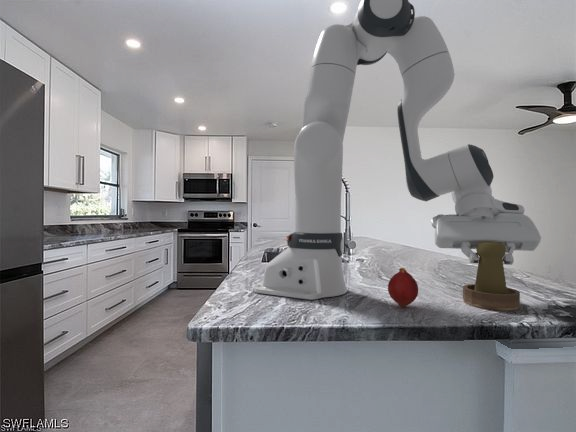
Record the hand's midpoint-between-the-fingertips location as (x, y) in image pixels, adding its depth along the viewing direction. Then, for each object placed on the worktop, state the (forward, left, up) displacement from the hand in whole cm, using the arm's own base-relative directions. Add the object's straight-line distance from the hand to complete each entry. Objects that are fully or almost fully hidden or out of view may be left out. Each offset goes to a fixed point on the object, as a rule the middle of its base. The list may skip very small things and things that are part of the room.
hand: (491, 262), depth 68 cm
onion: (-18, -7, -9) cm, 21 cm away
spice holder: (0, +1, -9) cm, 9 cm away
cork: (0, +1, -7) cm, 7 cm away
